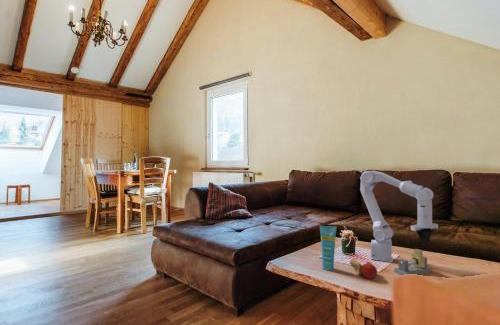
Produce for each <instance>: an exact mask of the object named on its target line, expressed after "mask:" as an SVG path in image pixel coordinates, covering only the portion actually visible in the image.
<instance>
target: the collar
mask: <svg viewBox="0 0 500 325" xmlns="http://www.w3.org/2000/svg"><path fill="white" fill-rule="evenodd" d="M412 252H413V253H412V254H411V255H410V256H411V257H410V260H412V259H418V263H415V264H410V265H414V266H416V267H419V268H424V267H425V257H426V256H424V254H423V253H424V251H423V250H422V249H418V248H414V249H413V250H412Z"/></svg>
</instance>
